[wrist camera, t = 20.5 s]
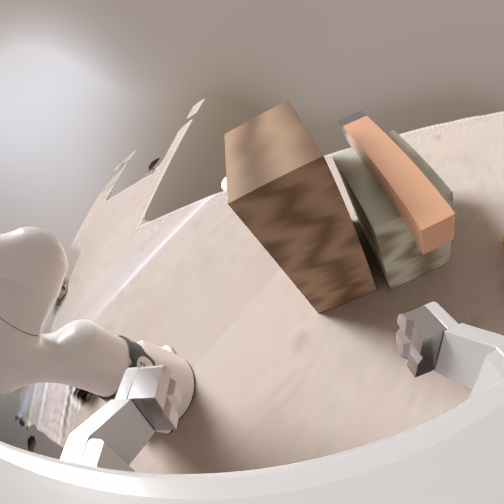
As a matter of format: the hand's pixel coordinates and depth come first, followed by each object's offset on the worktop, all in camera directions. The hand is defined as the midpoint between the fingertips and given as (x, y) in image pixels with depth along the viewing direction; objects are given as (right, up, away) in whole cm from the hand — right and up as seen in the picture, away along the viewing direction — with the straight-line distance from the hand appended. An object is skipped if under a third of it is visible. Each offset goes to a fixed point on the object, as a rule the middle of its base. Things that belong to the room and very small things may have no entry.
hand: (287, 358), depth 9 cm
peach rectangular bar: (+17, +13, +24) cm, 32 cm away
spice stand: (+19, +4, +37) cm, 42 cm away
